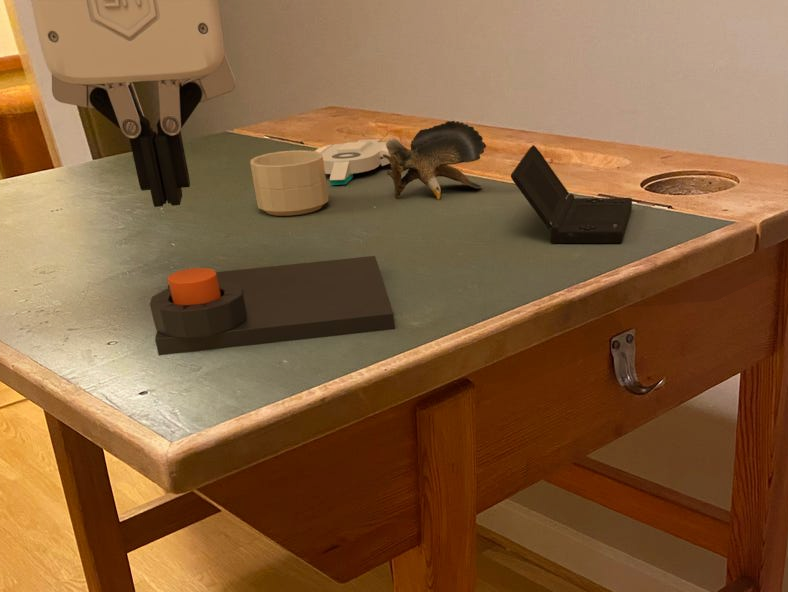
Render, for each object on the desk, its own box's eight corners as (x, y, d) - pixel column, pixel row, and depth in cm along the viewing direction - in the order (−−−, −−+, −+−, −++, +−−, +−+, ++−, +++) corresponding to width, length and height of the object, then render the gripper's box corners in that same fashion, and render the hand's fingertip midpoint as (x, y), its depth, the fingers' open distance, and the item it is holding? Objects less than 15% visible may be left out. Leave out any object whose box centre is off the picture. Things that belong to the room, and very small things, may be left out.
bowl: (258, 220, 96) (250, 169, 93) (258, 203, 101) (250, 154, 98) (330, 213, 96) (324, 162, 94) (327, 196, 102) (320, 147, 99)
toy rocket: (330, 153, 118) (327, 132, 117) (412, 151, 117) (410, 129, 116) (290, 187, 106) (287, 163, 104) (381, 185, 104) (379, 161, 103)
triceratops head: (408, 198, 95) (496, 166, 96) (379, 123, 94) (467, 92, 95) (401, 226, 102) (482, 197, 103) (373, 157, 101) (455, 128, 103)
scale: (157, 359, 68) (146, 315, 66) (172, 292, 79) (163, 252, 78) (395, 333, 69) (391, 288, 68) (376, 270, 81) (372, 231, 79)
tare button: (172, 311, 68) (165, 284, 66) (175, 296, 70) (169, 270, 69) (220, 305, 68) (215, 279, 67) (222, 291, 70) (216, 265, 69)
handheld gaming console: (648, 220, 82) (572, 114, 79) (578, 279, 85) (501, 180, 82) (636, 205, 93) (568, 111, 89) (574, 259, 95) (505, 169, 92)
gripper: (-70, -161, 50) (38, 225, 61) (235, -171, 52) (287, 206, 63) (-35, -156, 56) (57, 195, 67) (238, -165, 58) (284, 179, 69)
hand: (168, 200), depth 65 cm, fingers closed
